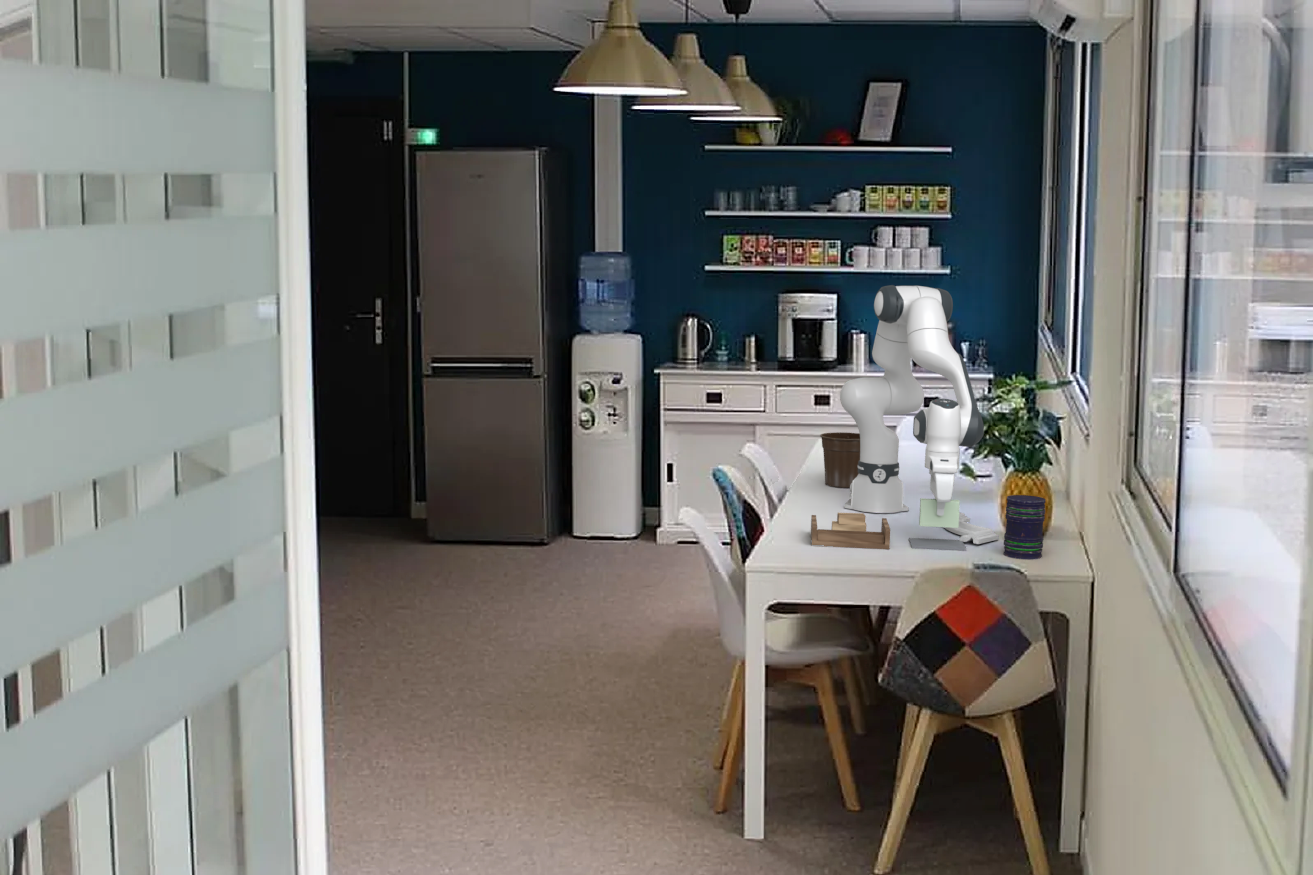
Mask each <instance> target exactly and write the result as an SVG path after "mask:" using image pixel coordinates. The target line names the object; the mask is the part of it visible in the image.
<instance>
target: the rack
mask: <svg viewBox="0 0 1313 875" xmlns="http://www.w3.org/2000/svg"><path fill="white" fill-rule="evenodd" d="M810 516H811V520H810V540H812V543H811V546H812V545H824V546H823V547H827V546H833V547H832V548H850V549H853V548H854V549H855V548H856V549H869V550H870V549H872V550H875V549H877V550H890V546H891V544H890V543H891V528H890V525H889V522H888V518H885V517H882V518H881V530H880V531H867V530H866V531H846V530H832V529H819V528H818V521H817V515H816V514H811V515H810Z"/></svg>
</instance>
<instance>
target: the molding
mask: <svg viewBox="0 0 1313 875" xmlns="http://www.w3.org/2000/svg"><path fill="white" fill-rule="evenodd" d="M970 520H971V518H970V517H967V515H965V513H964V512H960V511H959V526H958V528H950V527H943V528H944V529H945V530H947V531H948V532H951V533H952V534H956V535H959V536H960V537H959V540H960V541H963V543H967V542H971V541H972V542H973V544H975V545H980V544H985V543H989V542H992V541H998V540H999V537H1000V534H996V532H994V530H993V529H992V528H988V527H983V526H979V525H975V524H971V523H970ZM967 522H969V523H967Z"/></svg>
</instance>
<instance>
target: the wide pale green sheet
mask: <svg viewBox="0 0 1313 875" xmlns="http://www.w3.org/2000/svg"><path fill="white" fill-rule="evenodd" d="M919 500H920V502H919V520H918V521H919V522H918V525H919V527H926V528H927V527H928V528H929V527H931V528H944V527H950V528H958V526H959V512H960V507H961V506H960V503H961V500H960V499H951V501H950V502H945V508H944V515H943V516H939V515H937V513H936V512H937V500H936V499H935V498H926V497H925V498H922V497H921V498H920V499H919Z"/></svg>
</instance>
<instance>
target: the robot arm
mask: <svg viewBox="0 0 1313 875" xmlns="http://www.w3.org/2000/svg"><path fill="white" fill-rule="evenodd" d="M953 303H954V301H953V298H952V295H951V294H950V292H949V291H947V290H946V289H942V288H940V287H935V288H934V287H929V286H922V285H896V286H895V285H894V284H891V285H884V286H881V287H880V288H879V289H878V290H877V292H876V294H875V298H874V303H873V310H874V314H875V316H876V317H877V319H878V320H879V321H878V323H877V329H876V332H875V333H876V334H875V337H874V341H873V346H872V351H871V356H872V360H873V361H874V362H875V363H876V365H877V366H878V367H880V368H882V369H883V370H884V373H883V375H882V376H881V377H879V376H878V377H876V376H875V377H873V376H872V377H871V376H870V377H865V376H864V377H858V378H854V379H850V380H847V381H846V382H845V383H844V384H843V385H842V387H841V389H840V392H839V400H840V404H841V406H842V408H843V410H844V411H846V412H847V413H848V414H849V416H851V418H852V419H853V420H854V422H855V424H856V427H857V429H858V433H860V460H859V461H858V473H859V474H858V476H857V477H856V478H855V479H854V480H853V482H852V483H851V484H850V488H849V492H850V494H849V497H850V498H849V500H847V501H846V502H845V503H844V504H843V508H844V509H850V510H855V511H857V512H863V513H864V512H865V513H877V514H894V513H900V512H909V506H908V505H906V504H905V503H904V482H903V481H902V480H901V479H900V477H899V474H900V463H899V447H900V446H899V444H900V440H899V436H898V434H897V433H896V431H894V430H893V429H892V428H889V427H887V426H886V424H885V420H884V415H885V416H892V415H893V416H897V415H898V416H899V415H907V414H910V413H915V412H917V413H916V414H915V415H914V417H913V425H912V426H913V427H912V430H913V431H912V435H913V437H914V438H915V439H916V440H917V441H918V442H919V443H921V444H924V445H926V447H925V456H924V467H925V468H926V469H928V471H929V472H928V473H929V475H930V481H929V489H930V491H931V493H932V495H933V497H934V499H936V500H937V512H936V513H937V515H939V516H943V515H944V508H945V502H950V501H951V500H952V499H953V493H954V485H955V479H956V478H955V476H956V474H957V473H958V470H959V469H960V454H961V452H960V447H966V448H972V447H974V446H975V445H977V444H978V443H979V442H980V441H981V440H982V438H983V436H984V433H985V432H984V430H985V429H984V428H985V427H984V426H985V425H984V421H983V420H984V419H983V417H982V415H981V412H980V410H979V407H978V405H977V401H976V398H975V393H974V390H973V387H972V383H971V380H970V376H969V371H968V368H967V365H966V363H965V360H964V358H963V356H962V355H961V353H959V352H957V351H956V350H955V349H954V347H953V346H952V343H951V342H950V339H949V337H950V336H949V329H948V323H947V322H949V320H950V319H951V317H952V314H953V309H954V308H953V307H954V304H953ZM911 360H913V362H914V363H915V364H916V365H918V366H919V367H921V368H923V369H924V370H927V371H930V372H933V373H936V374H938V375H940V376H942V377H944V378H945V379H947V381H948V382H950V383H951V385H952V387H953V392H954V394H955V400H954V399H949V398H936V399H933V400H931V401H930V402H929V406H928V407H927V408H923V409H921V407H922V406H923V403H924V400H925V399H924V398H925V391H924V389H923V386H922V384H921V383H920V382H919V381H918V380H917V378H915V376H914V374H913V372H912V366H911ZM919 409H921V410H919Z"/></svg>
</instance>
